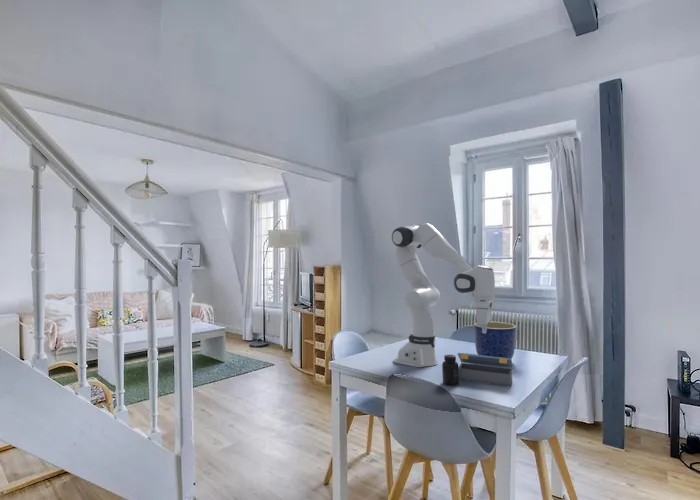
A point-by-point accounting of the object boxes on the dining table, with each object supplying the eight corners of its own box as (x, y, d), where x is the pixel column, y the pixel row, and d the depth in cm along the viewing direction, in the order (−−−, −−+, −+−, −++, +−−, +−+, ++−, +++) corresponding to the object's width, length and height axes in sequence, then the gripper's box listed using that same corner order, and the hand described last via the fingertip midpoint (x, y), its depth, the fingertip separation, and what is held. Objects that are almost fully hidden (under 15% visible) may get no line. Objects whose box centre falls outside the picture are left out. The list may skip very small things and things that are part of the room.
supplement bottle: (455, 380, 173) (455, 353, 173) (460, 386, 166) (460, 357, 166) (440, 381, 172) (440, 353, 173) (444, 386, 166) (444, 358, 166)
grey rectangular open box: (457, 379, 174) (457, 368, 174) (461, 373, 183) (461, 362, 183) (510, 386, 165) (510, 375, 165) (512, 379, 174) (512, 368, 174)
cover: (456, 357, 174) (457, 351, 176) (460, 366, 182) (461, 360, 184) (511, 363, 164) (511, 357, 166) (512, 372, 172) (512, 366, 174)
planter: (520, 368, 191) (520, 329, 191) (476, 366, 195) (476, 327, 195) (511, 357, 211) (511, 322, 211) (472, 355, 215) (471, 320, 215)
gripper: (480, 299, 185) (480, 328, 185) (473, 304, 166) (473, 336, 166) (494, 299, 182) (494, 329, 182) (489, 305, 164) (489, 338, 164)
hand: (484, 332), depth 174 cm, fingers closed
